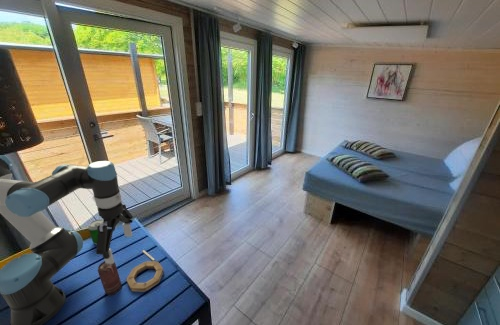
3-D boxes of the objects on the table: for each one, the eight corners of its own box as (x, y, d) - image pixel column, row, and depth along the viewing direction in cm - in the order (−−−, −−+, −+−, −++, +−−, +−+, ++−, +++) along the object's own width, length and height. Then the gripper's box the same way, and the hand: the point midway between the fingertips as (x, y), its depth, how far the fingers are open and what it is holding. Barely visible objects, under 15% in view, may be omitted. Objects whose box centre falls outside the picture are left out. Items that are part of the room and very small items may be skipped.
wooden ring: (122, 291, 90) (121, 288, 89) (137, 264, 103) (137, 260, 102) (155, 291, 90) (154, 288, 89) (166, 264, 103) (166, 261, 102)
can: (114, 297, 87) (107, 273, 82) (101, 294, 89) (93, 269, 83) (125, 284, 93) (118, 260, 88) (113, 281, 94) (105, 257, 89)
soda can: (97, 247, 111) (91, 229, 107) (90, 241, 115) (84, 224, 110) (112, 239, 117) (107, 221, 113) (105, 233, 121) (100, 216, 116)
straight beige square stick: (154, 260, 105) (154, 259, 105) (153, 261, 105) (153, 260, 104) (143, 250, 110) (143, 249, 110) (142, 251, 110) (142, 250, 110)
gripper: (98, 227, 64) (111, 276, 72) (136, 186, 87) (143, 227, 95) (72, 226, 64) (88, 276, 72) (118, 185, 87) (126, 226, 95)
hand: (120, 248), depth 84 cm, fingers open, 13 cm apart
